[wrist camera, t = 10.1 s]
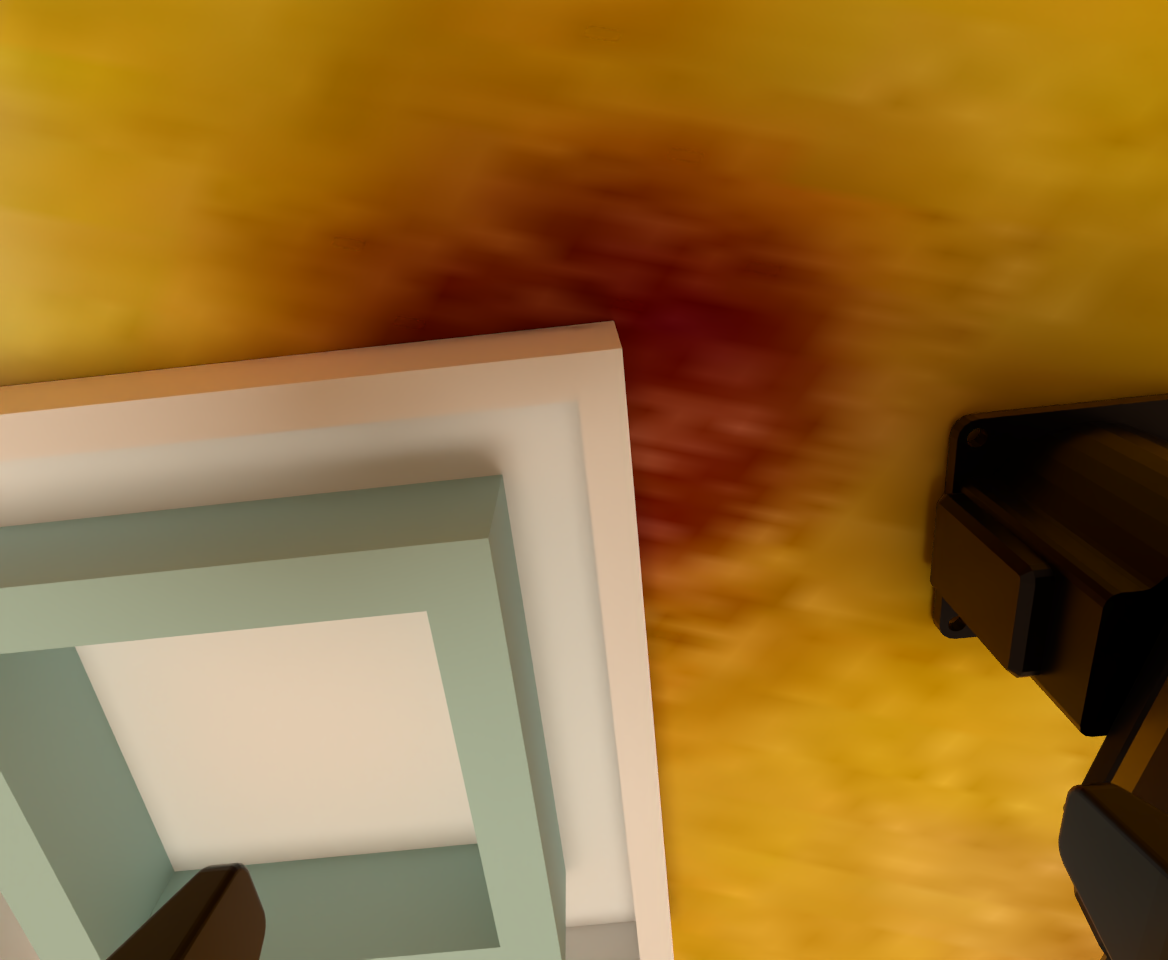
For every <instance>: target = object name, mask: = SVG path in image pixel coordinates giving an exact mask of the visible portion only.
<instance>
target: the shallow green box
mask: <svg viewBox="0 0 1168 960" xmlns="http://www.w3.org/2000/svg"><path fill="white" fill-rule="evenodd" d="M423 611H427V615H428V620H429V624H430V629H431V633H432V638H433V643H434V647H435V652H436V656H437V661H438V665H439V670H440V674H441V679H442V684H443V688H444V693H445V697H446V702H447V706H448V711H449V715H450V720H451V725H452V729H453V734H454V738H455V743H456V747H457V752H458V757H459V761H460V766H461V770H462V775H463V779H464V784H465V788H466V793H467V798H468V802H469V807H470V811H471V816H472V820H473V825H474V829H475V834H476V839H477V844H466V845H455V846H445V847H434V848H423V849H412V850H402V851H391V852H380V853H369V854H359V855H348V856H337V857H326V858H316V859H305V860H294V861H283V862H273V863H262V864H251V865H245V866H246V867H247V868H248V870H249V872H250V875H251V878H252V880H253V883H254V885H255V888H256V891H257V893H258V896H259V898H260V901H261V903H262V906H263V909H264V912H265V917H266V931H265V937H264V942H263V946H262V951H261V955H260V959H259V960H565V952H566V870H565V863H564V857H563V851H562V845H561V838H560V832H559V826H558V819H557V813H556V807H555V801H554V794H553V788H552V782H551V776H550V769H549V763H548V757H547V751H546V744H545V738H544V732H543V726H542V719H541V713H540V707H539V701H538V694H537V688H536V682H535V676H534V669H533V663H532V657H531V651H530V644H529V638H528V632H527V626H526V619H525V613H524V607H523V600H522V594H521V588H520V582H519V575H518V569H517V563H516V557H515V550H514V544H513V538H512V532H511V525H510V519H509V513H508V507H507V500H506V494H505V488H504V482H503V475H493V476H483V477H474V478H464V479H454V480H445V481H435V482H426V483H416V484H407V485H397V486H388V487H378V488H369V489H359V490H349V491H340V492H330V493H321V494H311V495H302V496H292V497H283V498H273V499H263V500H254V501H244V502H235V503H225V504H216V505H206V506H197V507H187V508H178V509H168V510H158V511H149V512H139V513H130V514H120V515H111V516H101V517H92V518H82V519H72V520H63V521H53V522H44V523H34V524H25V525H15V526H6V527H0V891H1V893H2V895H3V897H4V898H5V900H6V902H7V903H8V905H9V907H10V909H11V910H12V912H13V914H14V916H15V917H16V919H17V921H18V922H19V924H20V926H21V928H22V929H23V931H24V933H25V935H26V936H27V938H28V940H29V942H30V943H31V945H32V947H33V948H34V950H35V952H36V954H37V955H38V957H39V959H40V960H106V959H107V958H108V957H109V956H110V955H111V954H112V953H113V952H114V951H115V950H116V949H117V948H118V947H120V946H121V945H122V944H123V943H124V942H125V941H126V940H127V939H128V938H129V937H130V936H131V935H132V934H133V933H134V932H135V931H136V930H137V929H138V928H140V927H141V926H142V925H143V924H144V923H145V922H146V921H147V920H148V919H149V918H150V917H151V916H152V915H153V914H154V913H155V912H156V911H157V910H158V909H160V908H161V907H162V906H163V905H164V904H165V903H166V902H167V901H168V900H169V899H170V898H171V897H172V896H173V895H174V894H175V893H176V892H177V891H178V890H180V889H181V888H182V887H183V886H184V885H185V884H186V883H187V882H188V881H189V880H190V879H191V878H192V877H193V876H194V875H195V874H196V873H198V872H199V871H200V870H201V869H197V870H187V871H176V872H175V871H174V869H173V867H172V865H171V862H170V860H169V858H168V855H167V853H166V851H165V849H164V846H163V844H162V842H161V840H160V837H159V835H158V833H157V831H156V828H155V826H154V824H153V822H152V819H151V817H150V815H149V813H148V810H147V808H146V806H145V804H144V801H143V799H142V797H141V795H140V792H139V790H138V788H137V786H136V783H135V781H134V779H133V777H132V774H131V772H130V770H129V768H128V765H127V763H126V761H125V759H124V756H123V754H122V752H121V750H120V747H119V745H118V743H117V741H116V738H115V736H114V734H113V732H112V729H111V727H110V725H109V723H108V720H107V718H106V716H105V713H104V711H103V709H102V707H101V704H100V702H99V700H98V698H97V695H96V693H95V691H94V689H93V686H92V684H91V682H90V680H89V677H88V675H87V673H86V671H85V668H84V666H83V664H82V662H81V659H80V657H79V655H78V653H77V650H76V648H75V646H85V645H95V644H105V643H115V642H125V641H135V640H145V639H154V638H164V637H174V636H184V635H194V634H204V633H214V632H224V631H234V630H244V629H254V628H264V627H274V626H284V625H294V624H304V623H314V622H323V621H333V620H343V619H353V618H363V617H373V616H383V615H393V614H403V613H413V612H423Z"/></svg>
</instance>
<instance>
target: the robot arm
mask: <svg viewBox="0 0 1168 960" xmlns="http://www.w3.org/2000/svg"><path fill="white" fill-rule="evenodd" d="M977 428H979V430H980V432H979V435H978V437H977V438H976V439H975V440H973V441H971V442H967V438H968V435H969V433H970V432H971V431H972V430H974V429H977ZM930 582H931V584H932V586H933V587H934V588H935V589H936V590H935V600H934V611H933V621H934V624H935V625H936V627H937V628H938V629H939V630H940V632H941V633H942V634H943V635H944V636H946V637H948V638H954V639H957V638H968V637H978V638H979V639H980V641H981V642H982V643H983V644H984V645H985V646H986V647H987V649H988V650H989V651H990V652H991V653H992V654H993V655H994V657H995V658H996V659H997V660H998V661H999V662H1000V663H1001V665H1002V666H1003V667H1004V668H1005V669H1006V670H1007V671H1009V672H1010V673H1011V674H1012V675H1014V676H1015V677H1017V678H1019V677H1031V678H1032V679H1033V680H1034V681H1035V682H1036V684H1037V685H1038V686H1039V687H1040V688H1041V689H1042V690H1043V691H1044V692H1045V693H1046V695H1047V696H1048V697H1049V698H1050V699H1051V700H1052V701H1053V702H1054V703H1055V704H1056V706H1057V707H1058V708H1059V709H1060V710H1061V711H1062V712H1063V713H1064V714H1065V715H1066V717H1067V718H1068V719H1069V720H1070V721H1071V722H1072V723H1073V724H1074V725H1075V726H1076V728H1077V729H1078V730H1079V731H1080V732H1081V733H1082V734H1084V735H1085V736H1091V737H1095V736H1106V735H1107V736H1106V738H1105V740H1104V742H1103V744H1102V746H1101V748H1100V750H1099V752H1098V754H1097V756H1096V758H1095V759H1094V761H1093V763H1092V765H1091V767H1090V769H1089V771H1088V773H1087V775H1086V777H1085V779H1084V781H1083V783H1082V785H1076V786H1073V787H1072V788H1071V789H1070V790H1069V791H1068V794H1067V798H1066V803H1065V805H1064V807H1063V810H1064V813H1063V818H1062V823H1061V828H1060V833H1059V842H1058V843H1059V851H1060V855H1061V858H1062V861H1063V864H1064V866H1065V868H1066V870H1067V872H1068V874H1069V876H1070V878H1071V880H1072V882H1073V884H1074V893H1075V897H1076V899H1077V901H1078V903H1079V905H1080V907H1081V909H1082V911H1083V913H1084V915H1085V917H1086V919H1087V921H1088V923H1089V925H1090V927H1091V930H1092V932H1093V934H1094V936H1095V938H1096V940H1097V942H1098V944H1099V946H1100V947H1101V949H1102V950H1103V952H1104V955H1103V956H1102V958H1101V960H1168V394H1159V395H1150V396H1140V397H1130V398H1121V399H1111V400H1101V401H1092V402H1082V403H1072V404H1063V405H1053V406H1043V407H1034V408H1024V409H1014V410H1005V411H995V412H985V413H976V414H969V415H966V416H963V417H962V418H960V419H959V420H957V421H956V423H955V424H954V425H953V427H952V429H951V432H950V437H949V448H948V459H947V470H946V481H945V492H944V495H943V496H942V497H941V499H940V500H939V501H938V503H937V507H936V519H935V530H934V541H933V553H932V564H931V575H930ZM956 616H959V618H958V619H957V620H956V621H955V622H953V623H949V621H950V620H951V619H952V618H953V617H956ZM265 931H266V917H265V912H264V909H263V906H262V903H261V901H260V898H259V896H258V893H257V891H256V888H255V885H254V883H253V880H252V878H251V875H250V872H249V870H248V868H247V867H246V866H245V865H243V864H242V863H228V864H217V865H210V866H207V867H205V868H203V869H201V870H200V871H199V872H198V873H196V874H195V875H194V876H193V877H192V878H191V879H190V880H189V881H188V882H187V883H186V884H185V885H184V886H183V887H182V888H181V889H180V890H178V891H177V892H176V893H175V894H174V895H173V896H172V897H171V898H170V899H169V900H168V901H167V902H166V903H165V904H164V905H163V906H162V907H161V908H160V909H158V910H157V911H156V912H155V913H154V914H153V915H152V916H151V917H150V918H149V919H148V920H147V921H146V922H145V923H144V924H143V925H142V926H141V927H140V928H138V929H137V930H136V931H135V932H134V933H133V934H132V935H131V936H130V937H129V938H128V939H127V940H126V941H125V942H124V943H123V944H122V945H121V946H120V947H118V948H117V949H116V950H115V951H114V952H113V953H112V954H111V955H110V956H109V957H108V958H107V959H106V960H259V959H260V955H261V951H262V946H263V942H264V937H265Z"/></svg>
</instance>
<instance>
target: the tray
mask: <svg viewBox="0 0 1168 960" xmlns="http://www.w3.org/2000/svg"><path fill="white" fill-rule="evenodd" d="M493 475H503V482H504V488H505V494H506V500H507V507H508V513H509V519H510V525H511V532H512V538H513V544H514V550H515V557H516V563H517V569H518V575H519V582H520V588H521V594H522V600H523V607H524V613H525V619H526V626H527V632H528V638H529V644H530V651H531V657H532V663H533V669H534V676H535V682H536V688H537V694H538V701H539V707H540V713H541V719H542V726H543V732H544V738H545V744H546V751H547V757H548V763H549V769H550V776H551V782H552V788H553V794H554V801H555V807H556V813H557V819H558V826H559V832H560V838H561V845H562V851H563V857H564V863H565V870H566V952H565V960H674V956H673V945H672V933H671V921H670V909H669V897H668V885H667V874H666V862H665V850H664V838H663V826H662V814H661V803H660V791H659V779H658V767H657V755H656V743H655V732H654V720H653V708H652V696H651V684H650V672H649V661H648V649H647V637H646V625H645V613H644V601H643V590H642V578H641V566H640V554H639V542H638V531H637V519H636V507H635V495H634V483H633V471H632V460H631V448H630V436H629V424H628V412H627V400H626V389H625V377H624V365H623V353H622V346H621V343H620V340H619V336H618V333H617V329H616V326H615V323H614V321H606V322H597V323H587V324H578V325H569V326H559V327H550V328H541V329H532V330H522V331H513V332H504V333H494V334H485V335H476V336H466V337H457V338H448V339H439V340H429V341H420V342H411V343H401V344H392V345H383V346H373V347H364V348H355V349H346V350H336V351H327V352H318V353H308V354H299V355H290V356H280V357H271V358H262V359H253V360H243V361H234V362H225V363H215V364H206V365H197V366H188V367H178V368H169V369H160V370H150V371H141V372H132V373H122V374H113V375H104V376H95V377H85V378H76V379H67V380H57V381H48V382H39V383H29V384H20V385H11V386H2V387H0V527H6V526H15V525H25V524H34V523H44V522H53V521H63V520H72V519H82V518H92V517H101V516H111V515H120V514H130V513H139V512H149V511H158V510H168V509H178V508H187V507H197V506H206V505H216V504H225V503H235V502H244V501H254V500H263V499H273V498H283V497H292V496H302V495H311V494H321V493H330V492H340V491H349V490H359V489H369V488H378V487H388V486H397V485H407V484H416V483H426V482H435V481H445V480H454V479H464V478H474V477H483V476H493ZM75 648H76V650H77V653H78V655H79V657H80V659H81V662H82V664H83V666H84V668H85V671H86V673H87V675H88V677H89V680H90V682H91V684H92V686H93V689H94V691H95V693H96V695H97V698H98V700H99V702H100V704H101V707H102V709H103V711H104V713H105V716H106V718H107V720H108V723H109V725H110V727H111V729H112V732H113V734H114V736H115V738H116V741H117V743H118V745H119V747H120V750H121V752H122V754H123V756H124V759H125V761H126V763H127V765H128V768H129V770H130V772H131V774H132V777H133V779H134V781H135V783H136V786H137V788H138V790H139V792H140V795H141V797H142V799H143V801H144V804H145V806H146V808H147V810H148V813H149V815H150V817H151V819H152V822H153V824H154V826H155V828H156V831H157V833H158V835H159V837H160V840H161V842H162V844H163V846H164V849H165V851H166V853H167V855H168V858H169V860H170V862H171V865H172V867H173V869H174V871H175V872H176V871H187V870H197V869H203V868H205V867H207V866H210V865H217V864H228V863H242V864H243V865H251V864H262V863H273V862H283V861H294V860H305V859H316V858H326V857H337V856H348V855H359V854H369V853H380V852H391V851H402V850H412V849H423V848H434V847H445V846H455V845H466V844H477V839H476V834H475V829H474V825H473V820H472V816H471V811H470V807H469V802H468V798H467V793H466V788H465V784H464V779H463V775H462V770H461V766H460V761H459V757H458V752H457V747H456V743H455V738H454V734H453V729H452V725H451V720H450V715H449V711H448V706H447V702H446V697H445V693H444V688H443V684H442V679H441V674H440V670H439V665H438V661H437V656H436V652H435V647H434V643H433V638H432V633H431V629H430V624H429V620H428V615H427V611H423V612H413V613H403V614H393V615H383V616H373V617H363V618H353V619H343V620H333V621H323V622H314V623H304V624H294V625H284V626H274V627H264V628H254V629H244V630H234V631H224V632H214V633H204V634H194V635H184V636H174V637H164V638H154V639H145V640H135V641H125V642H115V643H105V644H95V645H85V646H75ZM0 960H40V959H39V957H38V955H37V954H36V952H35V950H34V948H33V947H32V945H31V943H30V942H29V940H28V938H27V936H26V935H25V933H24V931H23V929H22V928H21V926H20V924H19V922H18V921H17V919H16V917H15V916H14V914H13V912H12V910H11V909H10V907H9V905H8V903H7V902H6V900H5V898H4V897H3V895H2V893H1V891H0Z"/></svg>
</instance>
